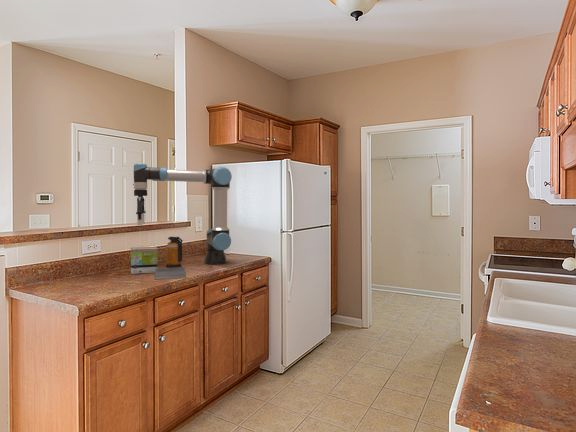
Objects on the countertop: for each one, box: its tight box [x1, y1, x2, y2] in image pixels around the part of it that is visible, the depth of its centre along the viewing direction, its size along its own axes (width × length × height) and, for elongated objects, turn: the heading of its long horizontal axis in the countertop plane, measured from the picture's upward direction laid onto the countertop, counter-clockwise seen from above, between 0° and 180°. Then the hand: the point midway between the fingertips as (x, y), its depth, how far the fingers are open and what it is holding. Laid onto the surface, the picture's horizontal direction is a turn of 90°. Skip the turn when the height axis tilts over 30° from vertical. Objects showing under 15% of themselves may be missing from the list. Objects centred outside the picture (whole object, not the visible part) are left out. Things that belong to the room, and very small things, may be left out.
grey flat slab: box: [154, 266, 187, 280], centre depth 226 cm, size 16×15×4 cm
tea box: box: [130, 246, 159, 275], centre depth 237 cm, size 15×10×15 cm, turn 114°
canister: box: [165, 236, 184, 268], centre depth 253 cm, size 9×11×20 cm
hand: (141, 224), depth 239 cm, fingers open, 13 cm apart
